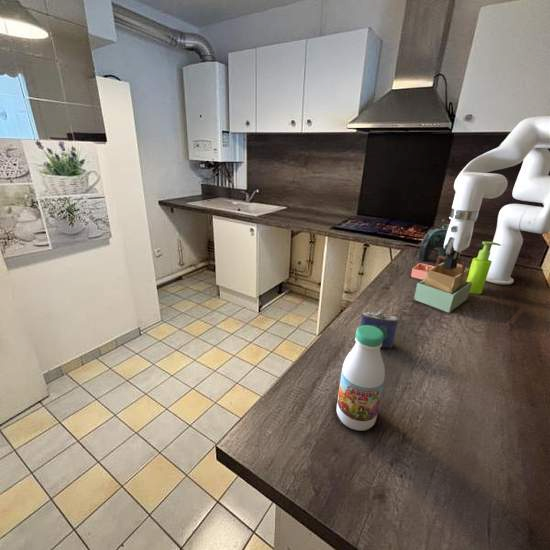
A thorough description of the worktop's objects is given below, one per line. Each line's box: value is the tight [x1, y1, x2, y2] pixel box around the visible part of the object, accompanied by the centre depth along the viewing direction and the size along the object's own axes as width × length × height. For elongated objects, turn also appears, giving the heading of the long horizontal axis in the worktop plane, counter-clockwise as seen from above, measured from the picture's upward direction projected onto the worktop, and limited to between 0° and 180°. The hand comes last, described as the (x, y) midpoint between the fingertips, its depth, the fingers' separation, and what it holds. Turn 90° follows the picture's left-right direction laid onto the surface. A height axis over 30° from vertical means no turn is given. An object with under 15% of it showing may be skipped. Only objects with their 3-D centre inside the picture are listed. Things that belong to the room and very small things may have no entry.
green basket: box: [413, 279, 472, 314], centre depth 104 cm, size 16×12×7 cm
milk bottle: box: [336, 325, 386, 432], centre depth 54 cm, size 8×8×20 cm
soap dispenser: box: [467, 241, 500, 295], centre depth 109 cm, size 6×7×20 cm
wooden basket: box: [425, 255, 470, 294], centre depth 101 cm, size 13×9×10 cm
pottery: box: [410, 262, 463, 281], centre depth 120 cm, size 18×10×10 cm, turn 49°
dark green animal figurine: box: [418, 218, 450, 262], centre depth 144 cm, size 20×6×20 cm, turn 114°
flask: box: [359, 309, 399, 349], centre depth 78 cm, size 9×3×11 cm, turn 74°
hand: (449, 267), depth 101 cm, fingers closed on wooden basket, 1 cm apart
